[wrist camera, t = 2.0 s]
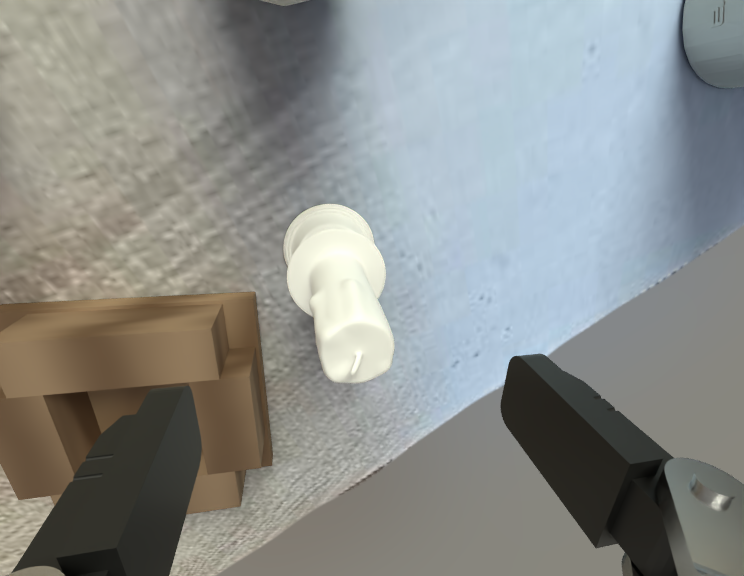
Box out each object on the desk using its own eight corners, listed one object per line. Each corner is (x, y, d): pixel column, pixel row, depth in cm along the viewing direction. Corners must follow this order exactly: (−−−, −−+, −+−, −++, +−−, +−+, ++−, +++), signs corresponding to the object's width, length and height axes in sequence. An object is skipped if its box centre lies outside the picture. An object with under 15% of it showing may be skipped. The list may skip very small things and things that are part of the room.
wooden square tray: (255, 291, 22) (246, 323, 18) (272, 454, 27) (268, 504, 23) (1, 304, 19) (-66, 343, 16) (73, 479, 25) (34, 539, 21)
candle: (333, 306, 23) (364, 459, 12) (264, 253, 21) (228, 381, 10) (391, 244, 22) (481, 350, 11) (325, 183, 20) (357, 241, 9)
